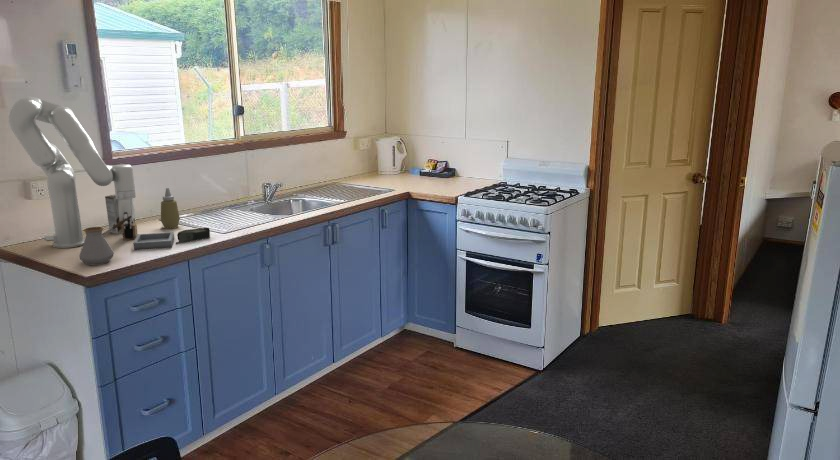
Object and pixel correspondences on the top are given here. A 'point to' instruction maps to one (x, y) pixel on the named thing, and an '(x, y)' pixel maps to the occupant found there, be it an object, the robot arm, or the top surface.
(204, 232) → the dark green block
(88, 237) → the coffee pot
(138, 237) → the tray
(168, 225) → the squeeze bottle
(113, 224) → the coffee box
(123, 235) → the walnut block
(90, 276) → the top surface
